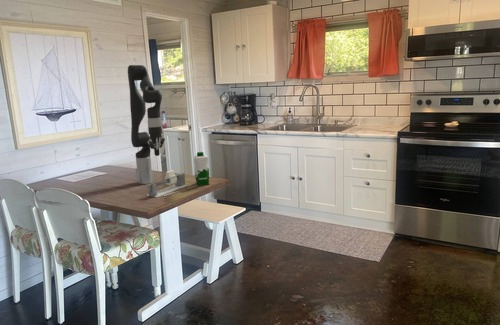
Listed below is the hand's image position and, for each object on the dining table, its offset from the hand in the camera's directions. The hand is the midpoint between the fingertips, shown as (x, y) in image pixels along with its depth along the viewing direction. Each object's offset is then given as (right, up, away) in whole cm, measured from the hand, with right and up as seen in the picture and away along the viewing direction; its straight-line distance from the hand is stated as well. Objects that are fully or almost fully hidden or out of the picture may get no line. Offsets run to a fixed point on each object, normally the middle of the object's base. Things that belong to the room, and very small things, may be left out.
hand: (157, 155), depth 226 cm
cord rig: (+4, -21, +9) cm, 24 cm away
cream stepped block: (+6, -17, +12) cm, 22 cm away
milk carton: (+24, -18, +23) cm, 37 cm away
